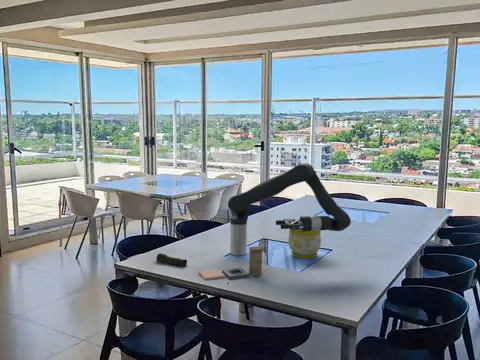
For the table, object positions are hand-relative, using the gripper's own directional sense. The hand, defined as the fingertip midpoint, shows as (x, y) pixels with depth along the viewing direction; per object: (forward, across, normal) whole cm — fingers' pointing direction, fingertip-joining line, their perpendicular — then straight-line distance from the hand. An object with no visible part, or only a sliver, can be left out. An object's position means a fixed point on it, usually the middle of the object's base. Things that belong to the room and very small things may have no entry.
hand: (278, 224), depth 220 cm
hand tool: (+51, -23, +24) cm, 61 cm away
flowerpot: (-23, -26, +24) cm, 42 cm away
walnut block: (+11, 0, +24) cm, 26 cm away
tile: (+32, -1, +24) cm, 40 cm away
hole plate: (+21, 0, +24) cm, 32 cm away
